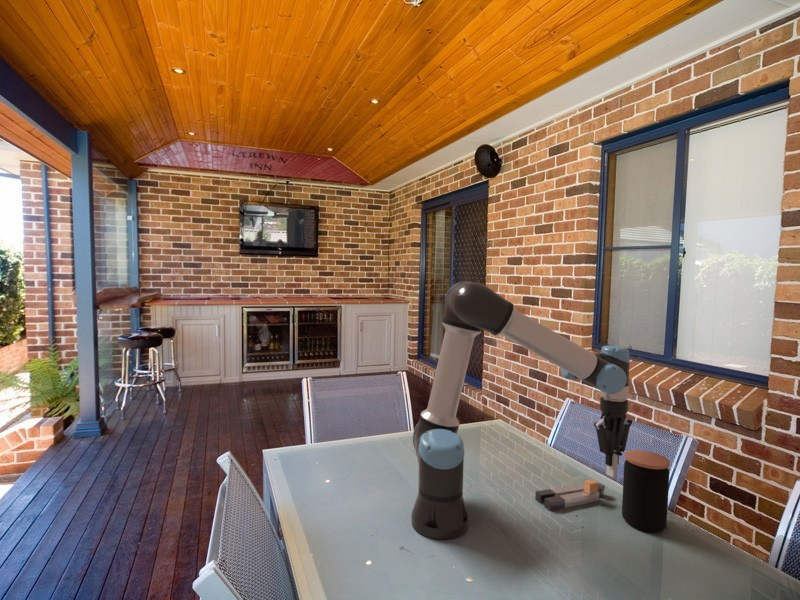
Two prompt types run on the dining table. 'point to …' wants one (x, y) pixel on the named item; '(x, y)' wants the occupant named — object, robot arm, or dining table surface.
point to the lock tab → (590, 486)
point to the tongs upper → (557, 492)
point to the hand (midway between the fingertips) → (611, 475)
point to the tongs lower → (573, 499)
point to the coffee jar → (645, 490)
